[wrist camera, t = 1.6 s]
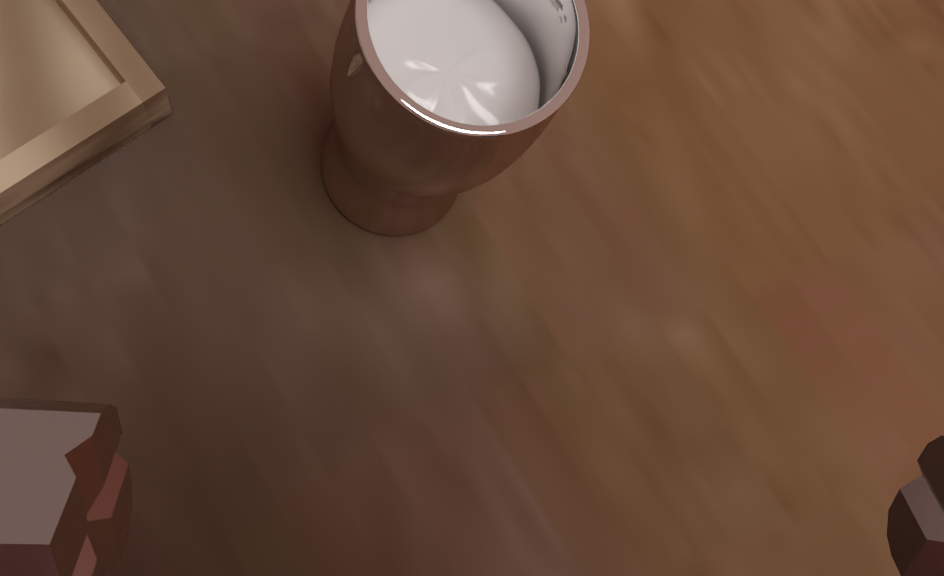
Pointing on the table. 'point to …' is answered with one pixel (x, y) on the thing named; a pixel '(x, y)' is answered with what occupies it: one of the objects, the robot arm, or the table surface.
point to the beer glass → (442, 100)
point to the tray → (66, 95)
